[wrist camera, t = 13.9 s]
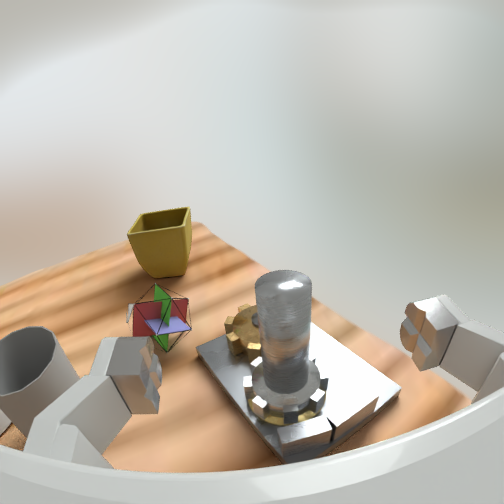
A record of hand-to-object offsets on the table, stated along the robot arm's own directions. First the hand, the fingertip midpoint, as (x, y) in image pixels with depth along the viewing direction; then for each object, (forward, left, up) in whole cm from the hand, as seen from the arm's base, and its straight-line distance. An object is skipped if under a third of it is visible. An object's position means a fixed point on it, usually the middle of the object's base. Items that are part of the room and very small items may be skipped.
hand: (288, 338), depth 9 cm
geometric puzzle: (-1, +23, -17) cm, 29 cm away
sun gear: (+8, +15, -17) cm, 24 cm away
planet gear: (+5, +8, -15) cm, 18 cm away
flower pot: (+5, +39, -17) cm, 43 cm away
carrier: (+7, +10, -17) cm, 21 cm away
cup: (-15, +15, -17) cm, 27 cm away
